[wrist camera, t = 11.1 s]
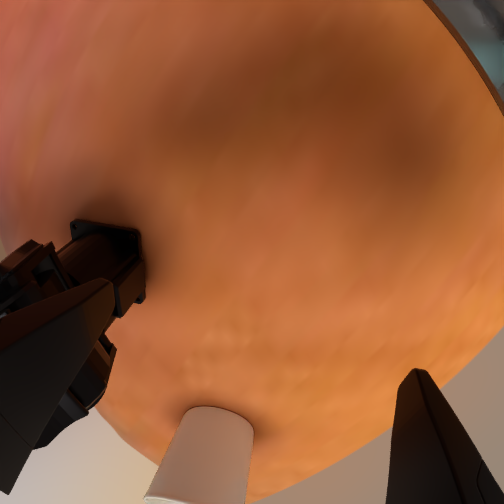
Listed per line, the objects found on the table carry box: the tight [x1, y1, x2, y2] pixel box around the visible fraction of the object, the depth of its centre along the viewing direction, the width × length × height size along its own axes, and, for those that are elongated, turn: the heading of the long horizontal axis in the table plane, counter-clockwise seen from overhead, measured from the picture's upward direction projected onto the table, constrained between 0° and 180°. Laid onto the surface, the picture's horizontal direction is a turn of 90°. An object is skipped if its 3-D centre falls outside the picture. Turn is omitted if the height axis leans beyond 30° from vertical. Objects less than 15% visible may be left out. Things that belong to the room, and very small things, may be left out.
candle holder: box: [144, 406, 254, 504], centre depth 27 cm, size 10×10×12 cm
